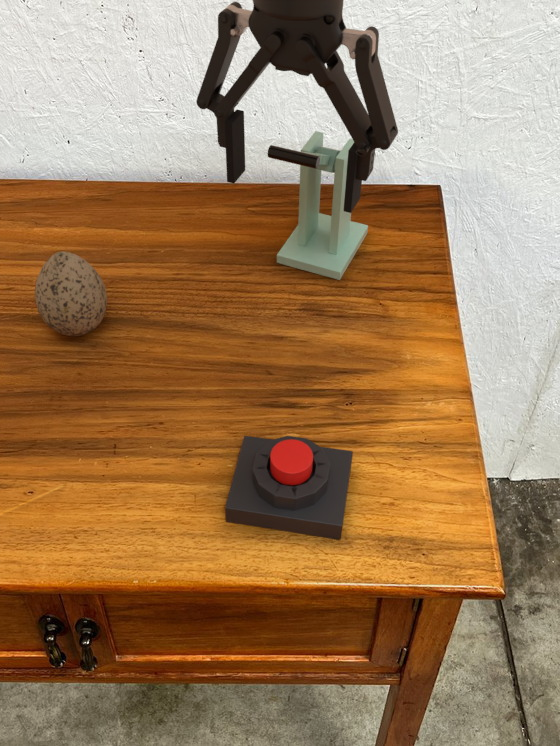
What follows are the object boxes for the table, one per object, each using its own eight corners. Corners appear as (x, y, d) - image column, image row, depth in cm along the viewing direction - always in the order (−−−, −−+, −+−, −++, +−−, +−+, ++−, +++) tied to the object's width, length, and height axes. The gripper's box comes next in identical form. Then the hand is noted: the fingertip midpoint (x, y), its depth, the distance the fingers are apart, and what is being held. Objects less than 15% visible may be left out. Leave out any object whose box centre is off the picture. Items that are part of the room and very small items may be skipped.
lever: (313, 175, 73) (319, 149, 73) (265, 163, 75) (270, 138, 74) (350, 175, 86) (355, 153, 85) (308, 165, 88) (313, 144, 87)
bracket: (339, 280, 90) (348, 176, 80) (276, 262, 92) (277, 159, 82) (367, 233, 96) (379, 131, 86) (307, 217, 98) (312, 116, 88)
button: (266, 482, 66) (266, 469, 64) (274, 449, 68) (274, 436, 67) (308, 488, 65) (309, 476, 64) (314, 455, 68) (315, 442, 66)
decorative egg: (58, 360, 80) (38, 286, 73) (35, 320, 84) (13, 246, 77) (123, 335, 83) (109, 261, 76) (97, 298, 87) (81, 224, 80)
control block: (225, 522, 67) (223, 495, 64) (244, 450, 72) (243, 422, 70) (340, 540, 66) (343, 513, 63) (351, 465, 71) (354, 438, 68)
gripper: (459, -39, 60) (420, 198, 76) (186, -81, 67) (202, 146, 83) (433, -5, 56) (397, 240, 71) (142, -54, 62) (167, 181, 78)
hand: (292, 190), depth 77 cm, fingers open, 12 cm apart
